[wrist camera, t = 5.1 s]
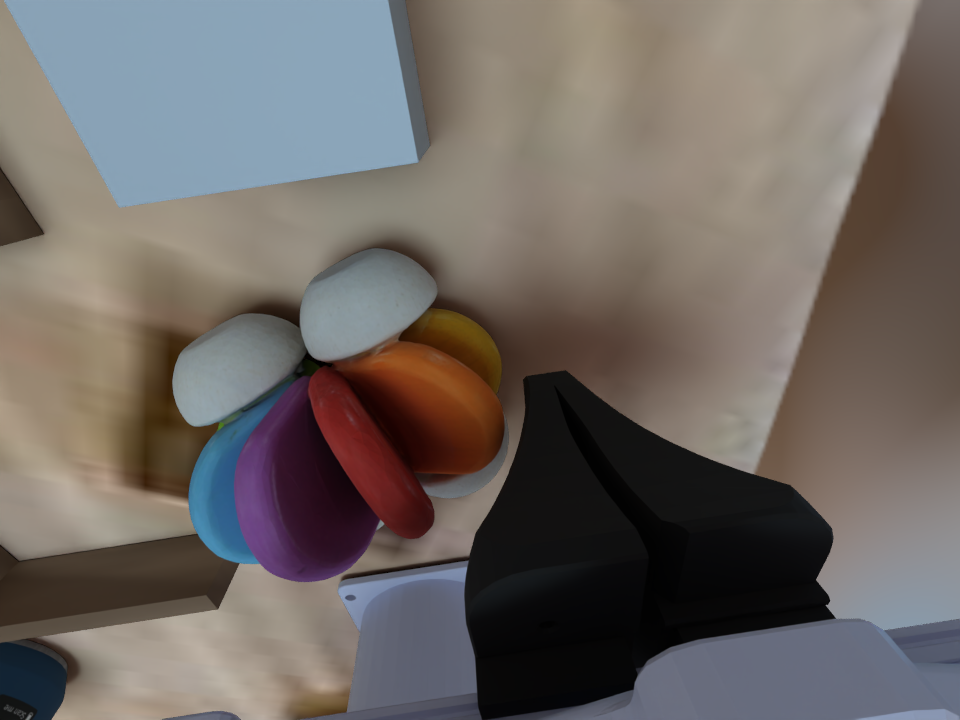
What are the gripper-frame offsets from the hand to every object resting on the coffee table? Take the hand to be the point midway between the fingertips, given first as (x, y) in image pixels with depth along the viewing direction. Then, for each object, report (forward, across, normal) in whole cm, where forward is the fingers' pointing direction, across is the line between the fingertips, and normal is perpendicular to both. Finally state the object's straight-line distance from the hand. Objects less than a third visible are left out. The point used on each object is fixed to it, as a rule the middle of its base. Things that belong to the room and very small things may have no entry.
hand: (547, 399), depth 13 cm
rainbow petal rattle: (+3, +6, 0) cm, 7 cm away
